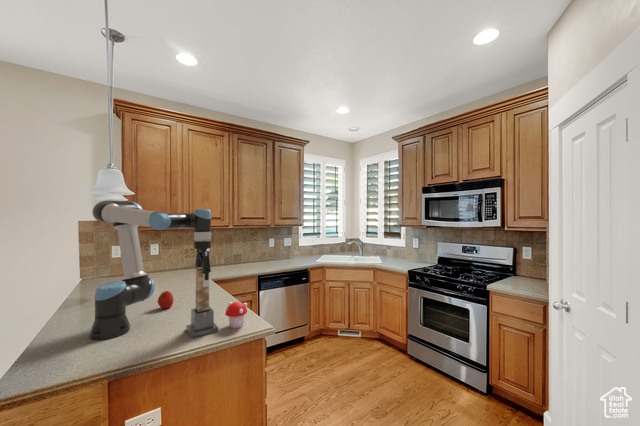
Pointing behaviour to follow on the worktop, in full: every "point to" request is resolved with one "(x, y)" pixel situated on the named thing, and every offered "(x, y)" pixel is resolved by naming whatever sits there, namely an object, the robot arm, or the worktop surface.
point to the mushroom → (236, 314)
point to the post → (201, 292)
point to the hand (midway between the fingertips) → (202, 283)
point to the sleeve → (201, 323)
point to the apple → (165, 300)
